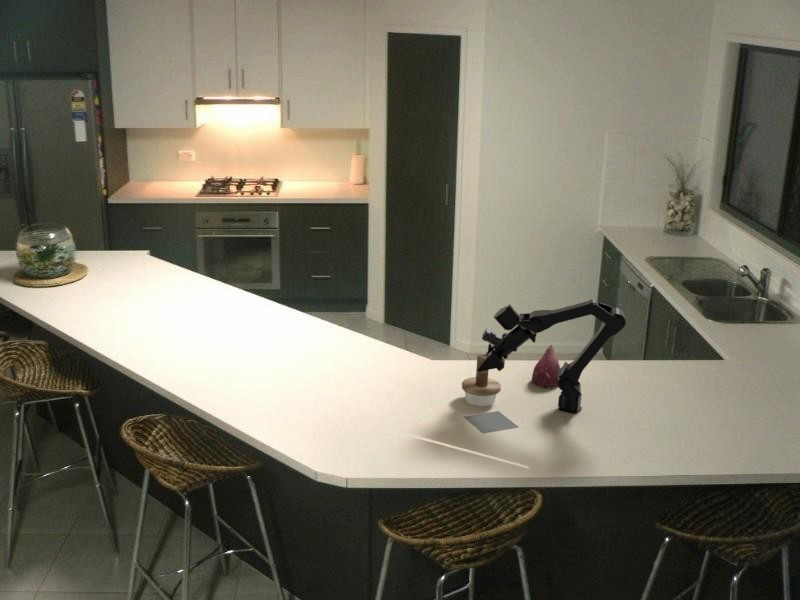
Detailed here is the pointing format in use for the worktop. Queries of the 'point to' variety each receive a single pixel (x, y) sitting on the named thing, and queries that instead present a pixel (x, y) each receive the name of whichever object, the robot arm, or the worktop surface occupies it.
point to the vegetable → (546, 370)
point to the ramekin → (480, 399)
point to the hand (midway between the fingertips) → (478, 368)
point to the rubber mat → (490, 422)
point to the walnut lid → (481, 382)
